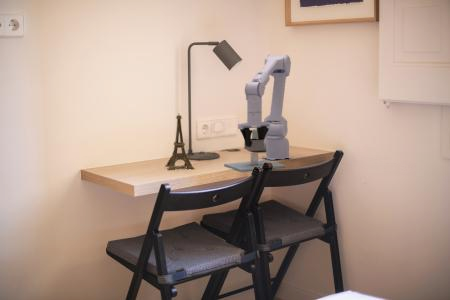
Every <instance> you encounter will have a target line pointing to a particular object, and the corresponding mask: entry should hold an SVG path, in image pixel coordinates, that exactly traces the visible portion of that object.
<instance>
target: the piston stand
mask: <svg viewBox="0 0 450 300" xmlns="http://www.w3.org/2000/svg"><path fill="white" fill-rule="evenodd" d="M265 162H270V163H272V165H273V169H281V168H285V167H286V164H282V163H278V162H275V161H273V160H268V159H264V160H259V153H258V152H251V153H250V161H243V162H241V161H240V162H233V163H232V162H231V163H224V167H226V168H229V169H231V168H232V169H231V170H236V171H237V172H241V173H243V172H254V171H253V169H254V167H260V168H262V166H263V164H264V163H265Z"/></svg>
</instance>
